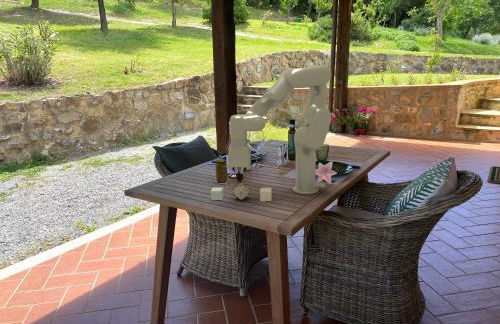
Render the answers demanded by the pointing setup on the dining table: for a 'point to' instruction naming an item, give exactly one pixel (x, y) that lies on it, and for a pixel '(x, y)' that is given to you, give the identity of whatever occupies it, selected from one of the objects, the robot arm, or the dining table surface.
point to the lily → (325, 172)
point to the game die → (241, 191)
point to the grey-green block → (217, 194)
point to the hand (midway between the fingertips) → (239, 181)
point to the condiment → (221, 171)
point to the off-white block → (265, 194)
